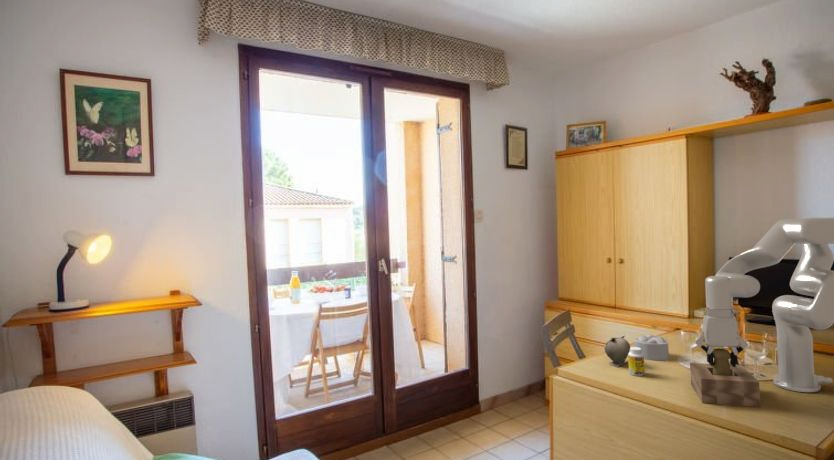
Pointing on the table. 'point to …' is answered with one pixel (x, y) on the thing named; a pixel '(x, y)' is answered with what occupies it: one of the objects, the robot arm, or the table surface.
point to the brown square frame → (725, 386)
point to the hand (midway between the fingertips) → (722, 364)
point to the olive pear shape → (721, 362)
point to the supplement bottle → (636, 361)
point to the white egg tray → (653, 347)
